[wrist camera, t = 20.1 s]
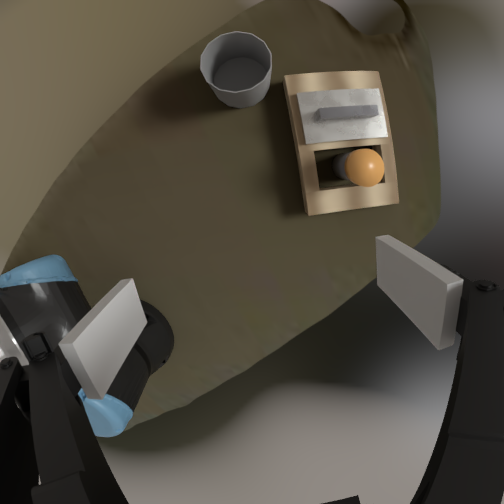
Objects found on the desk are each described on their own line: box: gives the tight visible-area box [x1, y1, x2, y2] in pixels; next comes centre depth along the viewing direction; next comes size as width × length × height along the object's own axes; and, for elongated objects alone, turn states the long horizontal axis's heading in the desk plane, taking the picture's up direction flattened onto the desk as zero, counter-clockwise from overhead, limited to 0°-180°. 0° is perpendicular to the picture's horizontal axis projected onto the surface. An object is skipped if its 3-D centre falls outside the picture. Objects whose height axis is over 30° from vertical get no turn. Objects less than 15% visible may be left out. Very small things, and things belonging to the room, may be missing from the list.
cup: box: [200, 31, 272, 108], centre depth 33 cm, size 8×8×10 cm
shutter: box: [296, 89, 388, 144], centre depth 34 cm, size 12×7×3 cm, turn 100°
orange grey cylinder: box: [332, 149, 384, 187], centre depth 37 cm, size 5×5×10 cm
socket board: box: [283, 71, 399, 216], centre depth 39 cm, size 14×20×4 cm
